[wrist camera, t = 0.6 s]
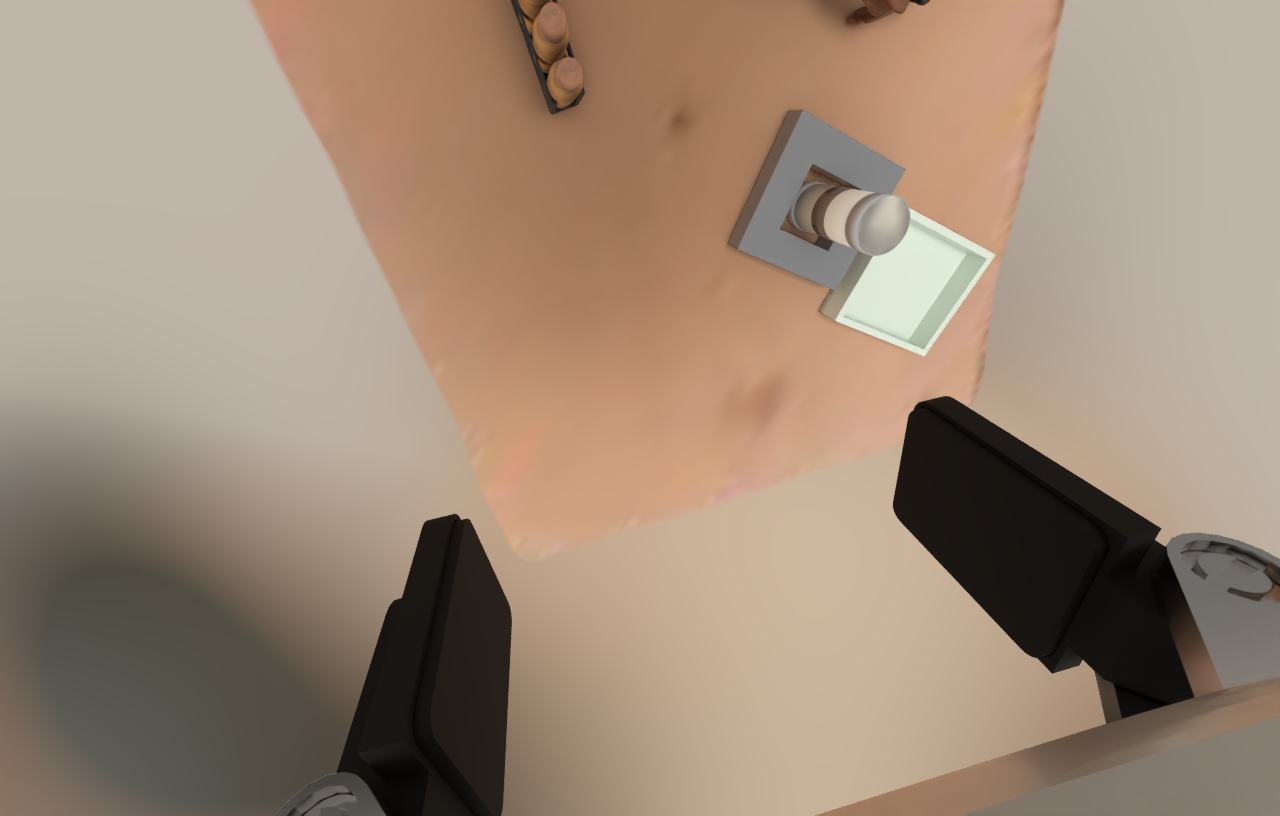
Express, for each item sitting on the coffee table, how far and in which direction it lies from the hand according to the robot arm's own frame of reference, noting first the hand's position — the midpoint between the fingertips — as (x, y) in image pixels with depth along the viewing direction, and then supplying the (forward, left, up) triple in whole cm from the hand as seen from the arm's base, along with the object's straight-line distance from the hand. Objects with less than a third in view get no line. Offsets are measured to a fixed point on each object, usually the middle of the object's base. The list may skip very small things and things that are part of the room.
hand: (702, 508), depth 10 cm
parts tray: (-6, +25, -27) cm, 37 cm away
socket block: (-8, +14, -27) cm, 32 cm away
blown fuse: (-8, +14, -27) cm, 32 cm away
